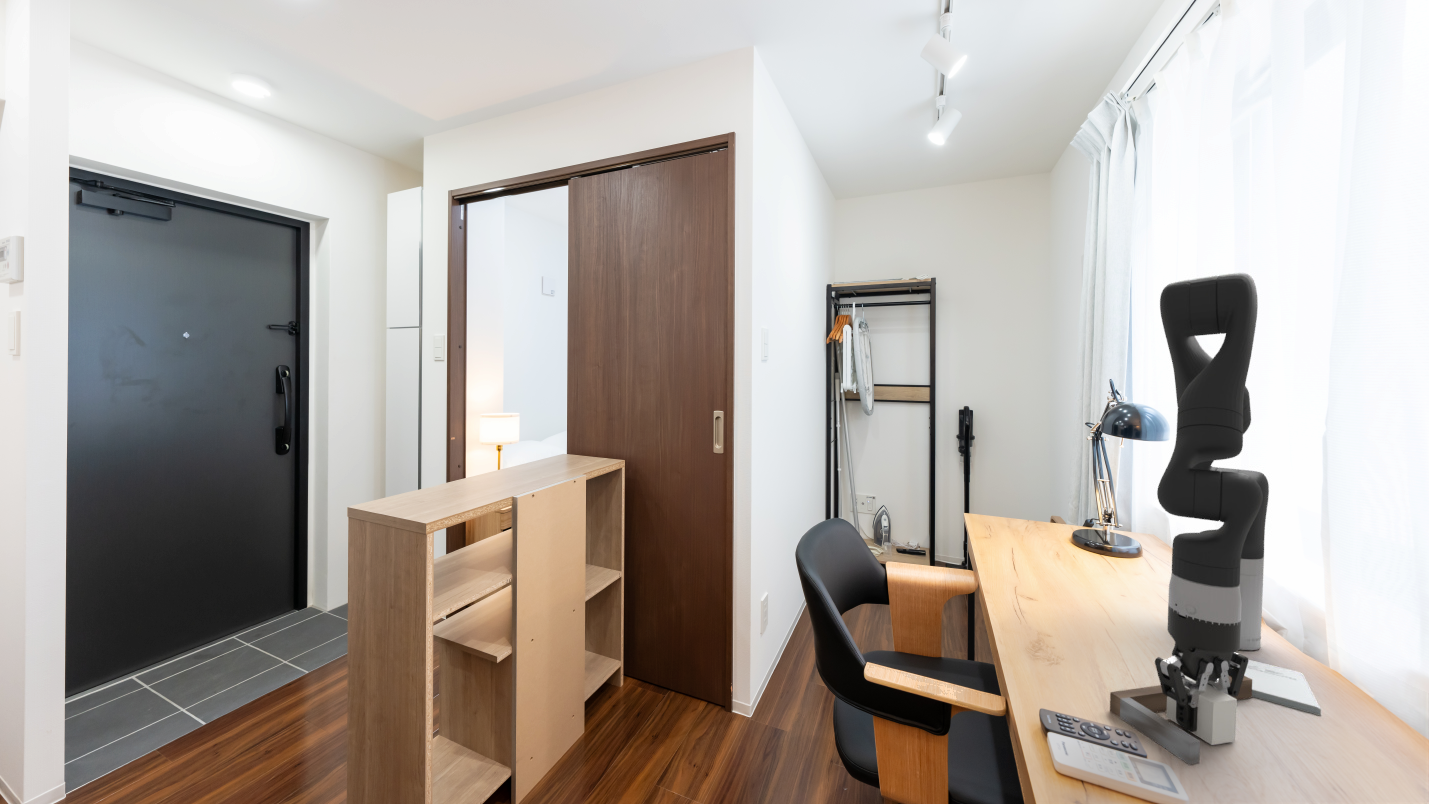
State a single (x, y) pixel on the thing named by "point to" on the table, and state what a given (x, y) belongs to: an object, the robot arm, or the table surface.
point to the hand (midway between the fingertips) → (1199, 725)
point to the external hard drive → (1281, 686)
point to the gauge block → (1211, 715)
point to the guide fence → (1142, 716)
